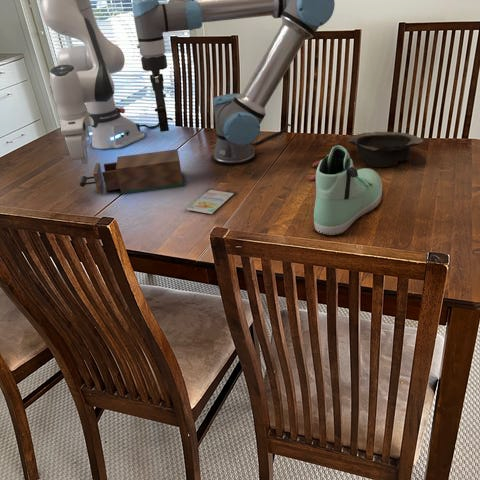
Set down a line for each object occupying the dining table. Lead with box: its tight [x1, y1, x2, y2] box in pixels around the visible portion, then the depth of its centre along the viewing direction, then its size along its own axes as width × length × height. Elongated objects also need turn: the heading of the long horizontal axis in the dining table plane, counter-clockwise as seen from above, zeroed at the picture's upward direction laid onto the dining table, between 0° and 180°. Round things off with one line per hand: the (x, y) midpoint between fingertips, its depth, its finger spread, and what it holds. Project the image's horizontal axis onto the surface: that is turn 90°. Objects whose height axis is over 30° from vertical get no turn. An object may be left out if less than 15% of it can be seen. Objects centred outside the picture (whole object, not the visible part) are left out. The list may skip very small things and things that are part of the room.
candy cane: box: [309, 160, 321, 182], centre depth 162 cm, size 6×15×2 cm, turn 145°
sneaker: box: [313, 145, 383, 236], centre depth 133 cm, size 14×35×20 cm, turn 152°
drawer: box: [79, 161, 120, 195], centre depth 160 cm, size 24×10×7 cm, turn 100°
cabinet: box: [116, 148, 184, 195], centre depth 162 cm, size 20×11×9 cm, turn 100°
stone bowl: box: [347, 131, 425, 168], centre depth 166 cm, size 25×25×9 cm
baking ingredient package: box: [186, 189, 235, 215], centre depth 148 cm, size 9×1×15 cm
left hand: (85, 162), depth 156 cm, fingers closed
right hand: (163, 124), depth 154 cm, fingers open, 13 cm apart
